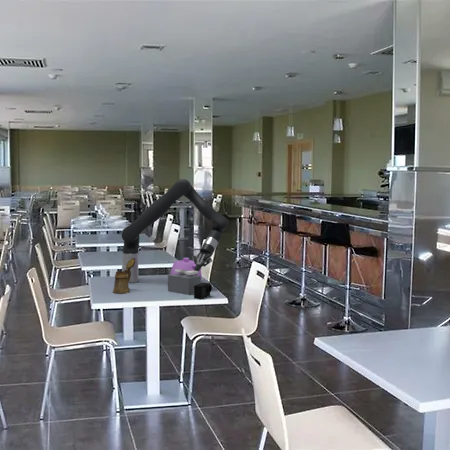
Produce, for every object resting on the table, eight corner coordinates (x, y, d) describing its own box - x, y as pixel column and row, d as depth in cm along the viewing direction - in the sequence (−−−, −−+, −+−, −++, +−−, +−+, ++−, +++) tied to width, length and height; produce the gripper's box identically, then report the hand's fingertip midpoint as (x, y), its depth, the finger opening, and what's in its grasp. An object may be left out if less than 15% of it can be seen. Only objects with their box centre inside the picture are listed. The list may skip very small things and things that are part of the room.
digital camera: (203, 299, 306) (203, 286, 305) (193, 298, 308) (194, 285, 307) (212, 295, 315) (212, 283, 314) (203, 294, 317) (203, 282, 317)
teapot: (188, 288, 334) (188, 261, 333) (165, 282, 350) (165, 257, 348) (217, 283, 350) (218, 258, 349) (194, 277, 365) (194, 254, 364)
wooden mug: (139, 290, 324) (139, 258, 322) (119, 294, 314) (119, 261, 312) (129, 288, 330) (129, 256, 328) (109, 291, 320) (109, 259, 319)
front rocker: (192, 273, 327) (192, 270, 327) (198, 274, 325) (198, 270, 325) (184, 275, 321) (184, 271, 321) (190, 275, 319) (190, 272, 319)
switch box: (179, 288, 333) (179, 272, 332) (200, 291, 324) (200, 275, 323) (167, 291, 325) (168, 275, 324) (188, 294, 316) (189, 278, 315)
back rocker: (182, 273, 331) (183, 269, 331) (188, 274, 329) (188, 270, 329) (174, 272, 325) (175, 268, 326) (180, 273, 323) (180, 269, 323)
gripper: (197, 241, 336) (183, 265, 327) (215, 243, 329) (202, 268, 320) (202, 249, 341) (189, 273, 332) (221, 251, 333) (208, 276, 325)
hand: (196, 271), depth 326 cm, fingers closed
